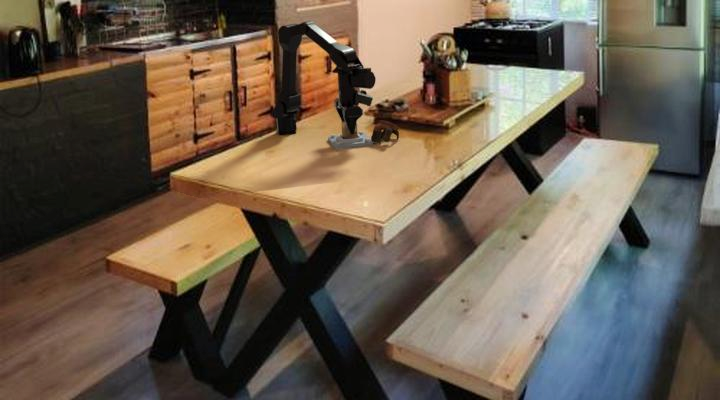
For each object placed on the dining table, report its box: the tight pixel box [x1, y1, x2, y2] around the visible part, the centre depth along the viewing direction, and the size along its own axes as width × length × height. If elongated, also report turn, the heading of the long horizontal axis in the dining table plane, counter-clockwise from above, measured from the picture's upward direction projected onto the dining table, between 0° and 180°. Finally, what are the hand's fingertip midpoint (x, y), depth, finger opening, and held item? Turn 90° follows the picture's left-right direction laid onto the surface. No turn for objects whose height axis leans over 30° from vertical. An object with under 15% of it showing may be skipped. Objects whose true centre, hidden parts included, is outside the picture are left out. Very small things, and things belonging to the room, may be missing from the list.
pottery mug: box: [370, 120, 400, 145], centre depth 259 cm, size 12×10×8 cm
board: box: [327, 131, 374, 150], centre depth 261 cm, size 13×13×2 cm
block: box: [340, 121, 358, 139], centre depth 260 cm, size 4×4×6 cm
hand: (349, 131), depth 260 cm, fingers open, 9 cm apart
